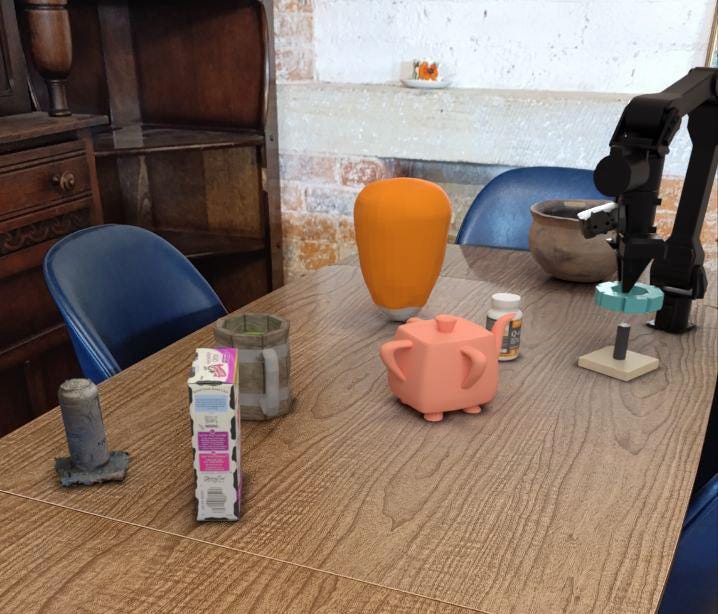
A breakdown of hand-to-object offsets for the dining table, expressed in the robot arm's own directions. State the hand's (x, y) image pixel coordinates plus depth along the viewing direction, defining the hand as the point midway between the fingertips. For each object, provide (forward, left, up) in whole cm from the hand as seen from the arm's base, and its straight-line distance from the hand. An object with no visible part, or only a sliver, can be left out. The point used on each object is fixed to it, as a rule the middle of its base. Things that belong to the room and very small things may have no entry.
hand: (623, 290), depth 139 cm
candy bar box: (+75, -3, -12) cm, 76 cm away
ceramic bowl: (-37, -34, -12) cm, 51 cm away
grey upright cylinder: (+83, -18, -12) cm, 86 cm away
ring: (+3, +3, -1) cm, 4 cm away
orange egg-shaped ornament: (+13, -37, -12) cm, 41 cm away
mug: (+57, -20, -12) cm, 62 cm away
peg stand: (+3, +3, -11) cm, 12 cm away
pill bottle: (+13, -13, -12) cm, 22 cm away
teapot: (+35, -5, -12) cm, 37 cm away
